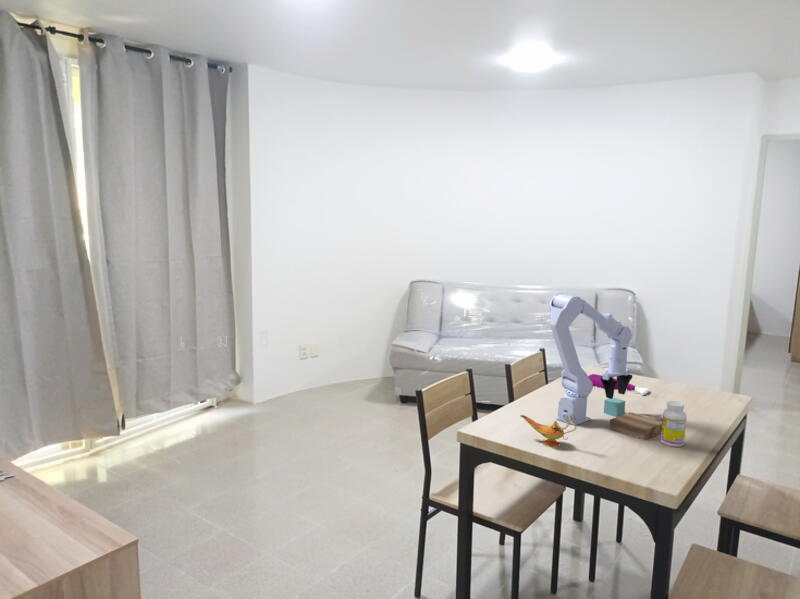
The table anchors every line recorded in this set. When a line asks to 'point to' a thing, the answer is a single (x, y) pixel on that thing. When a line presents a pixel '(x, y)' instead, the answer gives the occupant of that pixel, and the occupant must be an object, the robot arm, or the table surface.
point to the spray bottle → (597, 382)
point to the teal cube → (614, 407)
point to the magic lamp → (549, 431)
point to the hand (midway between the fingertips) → (615, 395)
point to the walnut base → (636, 425)
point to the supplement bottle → (674, 424)
